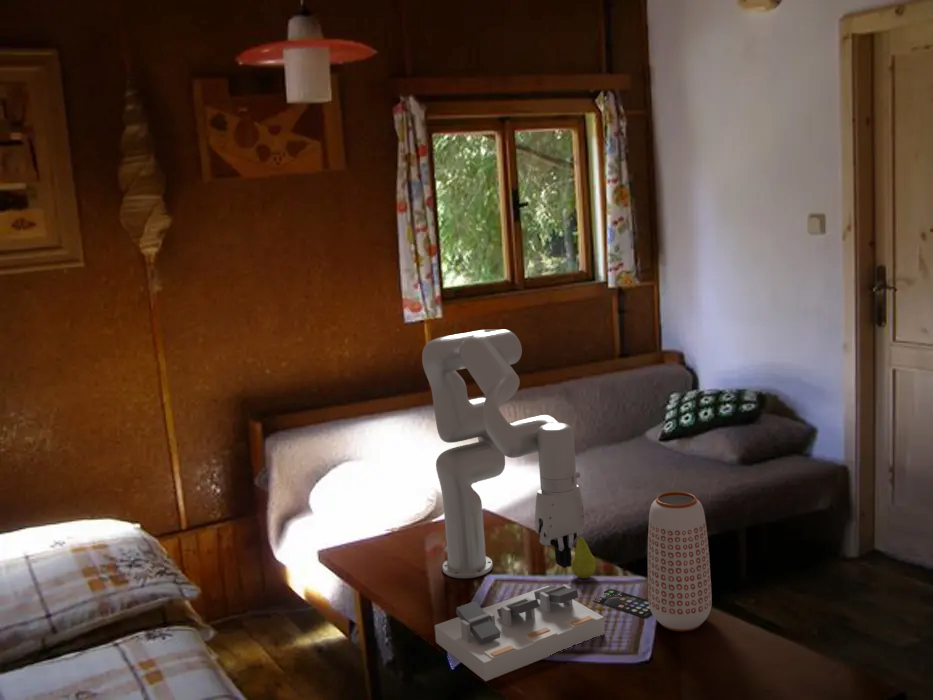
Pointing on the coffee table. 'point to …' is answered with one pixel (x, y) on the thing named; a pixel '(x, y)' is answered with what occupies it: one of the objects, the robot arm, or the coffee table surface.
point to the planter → (678, 562)
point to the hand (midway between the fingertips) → (563, 564)
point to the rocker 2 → (520, 606)
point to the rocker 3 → (557, 594)
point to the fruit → (583, 560)
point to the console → (520, 634)
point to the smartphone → (626, 603)
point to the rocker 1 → (478, 622)
